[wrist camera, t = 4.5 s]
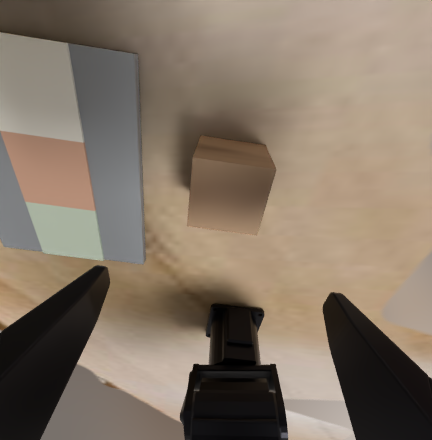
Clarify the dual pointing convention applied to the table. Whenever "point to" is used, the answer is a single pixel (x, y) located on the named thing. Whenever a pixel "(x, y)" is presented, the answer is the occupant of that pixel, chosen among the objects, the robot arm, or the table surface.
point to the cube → (229, 185)
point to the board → (70, 150)
